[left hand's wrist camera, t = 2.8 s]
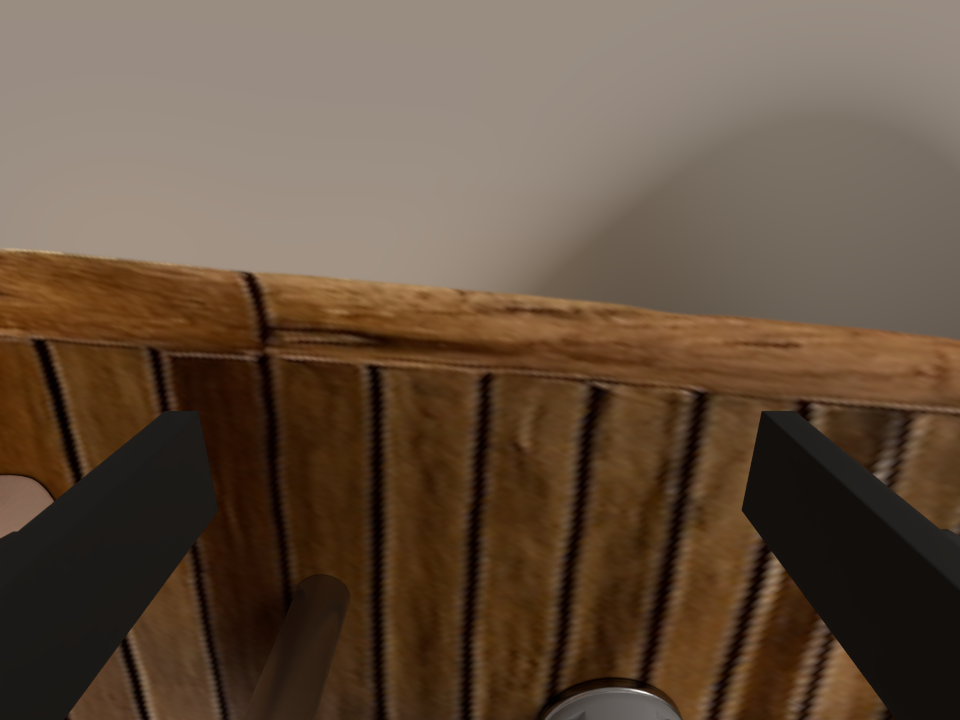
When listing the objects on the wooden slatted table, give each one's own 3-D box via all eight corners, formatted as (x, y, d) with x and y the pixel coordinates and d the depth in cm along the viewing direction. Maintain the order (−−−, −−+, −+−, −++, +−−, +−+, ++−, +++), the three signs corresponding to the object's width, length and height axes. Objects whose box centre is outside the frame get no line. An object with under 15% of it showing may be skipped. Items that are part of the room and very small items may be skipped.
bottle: (329, 566, 49) (230, 837, 30) (360, 602, 50) (285, 883, 31) (286, 588, 50) (162, 864, 30) (318, 623, 51) (219, 908, 32)
